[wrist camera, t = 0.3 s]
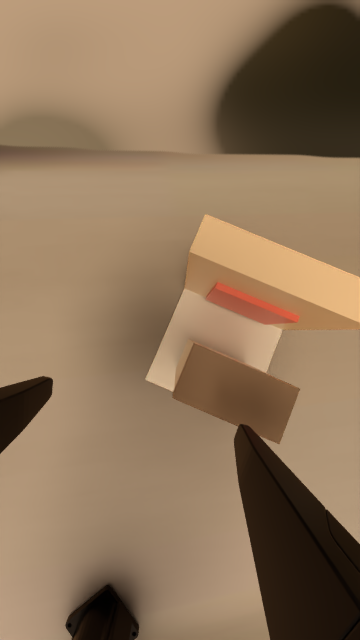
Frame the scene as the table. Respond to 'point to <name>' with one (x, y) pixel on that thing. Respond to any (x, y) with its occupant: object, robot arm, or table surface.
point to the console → (251, 299)
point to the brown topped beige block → (233, 391)
